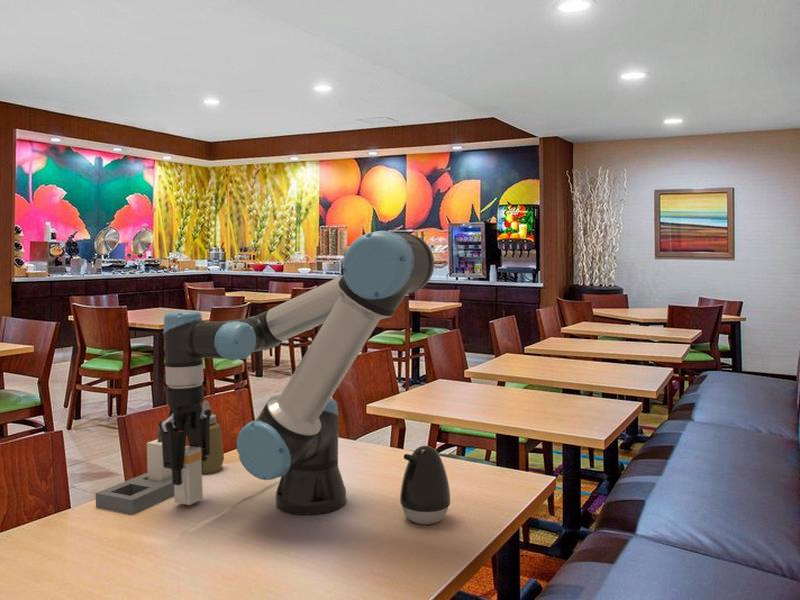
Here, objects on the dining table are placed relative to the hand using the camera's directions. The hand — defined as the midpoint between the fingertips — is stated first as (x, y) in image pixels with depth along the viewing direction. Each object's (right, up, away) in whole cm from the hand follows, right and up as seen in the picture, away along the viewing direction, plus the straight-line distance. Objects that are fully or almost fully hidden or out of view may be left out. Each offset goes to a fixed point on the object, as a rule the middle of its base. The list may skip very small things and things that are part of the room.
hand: (188, 494), depth 142 cm
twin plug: (-9, -1, +9) cm, 13 cm away
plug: (0, -1, 0) cm, 1 cm away
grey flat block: (-11, -3, +5) cm, 12 cm away
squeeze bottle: (-3, -2, +23) cm, 23 cm away
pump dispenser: (+50, -4, -5) cm, 50 cm away
